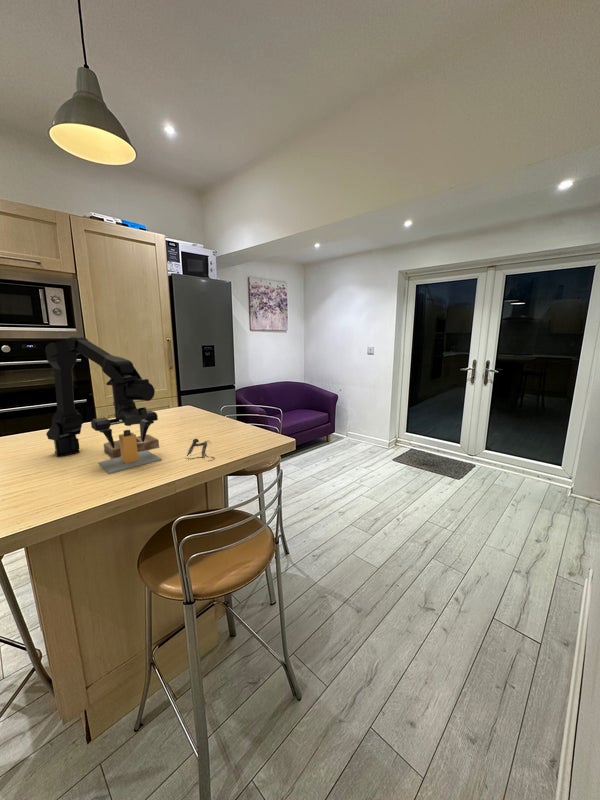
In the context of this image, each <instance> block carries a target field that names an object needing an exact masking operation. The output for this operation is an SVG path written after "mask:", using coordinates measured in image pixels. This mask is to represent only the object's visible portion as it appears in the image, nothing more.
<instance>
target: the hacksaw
mask: <svg viewBox="0 0 600 800" xmlns="http://www.w3.org/2000/svg"><path fill="white" fill-rule="evenodd" d="M196 442H197V443H196ZM198 442H199V438H194V439H193V438H192V443H191V445H190V447H189V449H188V451H187V454H186V456H188V455H189V454H192V453H191V452H193V449H194V448H193V447H197V446H201V445H202V449H201V456H196V457H188V458H186V459H188V460H187V461H190V460H194V459H195V458H196V459H203V458H204V459H205V458H209V456H207V455H206V454H207V453H206V448H207V445H208V440H204V441H203V442H201V443H200V442H199V443H198ZM210 457H211V458H210V459H211V460H209V462H212V461H214V460H215V459H216V458H215V457H214V456H210ZM189 459H190V460H189Z"/></svg>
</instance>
